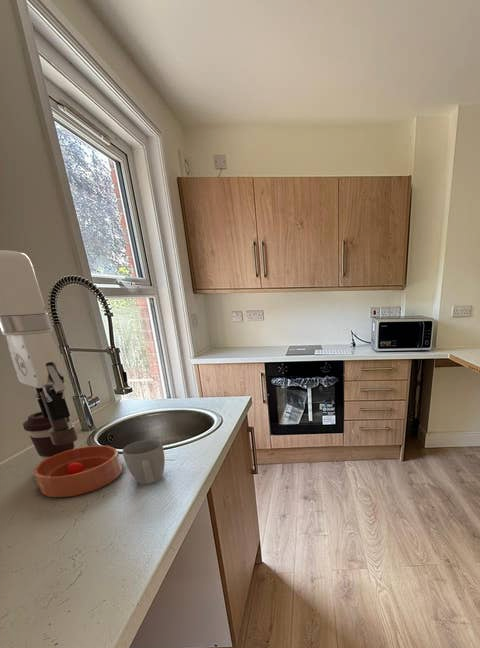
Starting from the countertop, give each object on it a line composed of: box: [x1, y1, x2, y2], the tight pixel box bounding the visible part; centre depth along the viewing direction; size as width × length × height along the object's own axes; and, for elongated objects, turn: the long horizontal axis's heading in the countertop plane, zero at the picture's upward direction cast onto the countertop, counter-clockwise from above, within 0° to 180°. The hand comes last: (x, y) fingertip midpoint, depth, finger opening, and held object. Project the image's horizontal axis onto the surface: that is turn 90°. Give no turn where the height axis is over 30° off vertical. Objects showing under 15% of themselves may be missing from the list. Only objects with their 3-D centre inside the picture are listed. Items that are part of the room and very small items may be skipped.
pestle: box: [40, 390, 78, 445], centre depth 72 cm, size 4×4×11 cm
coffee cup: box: [22, 411, 75, 461], centre depth 96 cm, size 10×10×15 cm
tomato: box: [67, 462, 84, 475], centre depth 90 cm, size 4×4×4 cm
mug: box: [122, 439, 166, 486], centre depth 85 cm, size 12×9×10 cm
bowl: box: [33, 444, 123, 498], centre depth 88 cm, size 17×17×6 cm
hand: (56, 416), depth 72 cm, fingers closed on pestle, 2 cm apart
